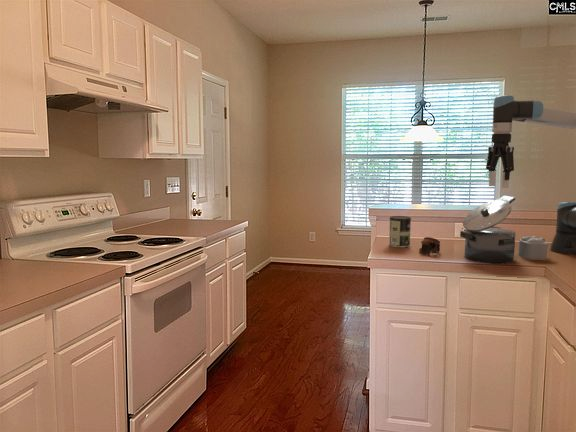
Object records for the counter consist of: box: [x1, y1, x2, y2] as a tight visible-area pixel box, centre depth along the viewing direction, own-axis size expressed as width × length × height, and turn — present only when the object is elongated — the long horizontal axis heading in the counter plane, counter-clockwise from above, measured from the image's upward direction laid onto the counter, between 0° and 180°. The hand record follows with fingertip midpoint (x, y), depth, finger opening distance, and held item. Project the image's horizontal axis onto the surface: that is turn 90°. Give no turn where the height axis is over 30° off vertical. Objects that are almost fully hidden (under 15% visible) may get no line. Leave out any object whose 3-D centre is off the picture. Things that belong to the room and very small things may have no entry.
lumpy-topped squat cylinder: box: [518, 235, 549, 261], centre depth 214 cm, size 10×13×9 cm
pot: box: [459, 227, 516, 265], centre depth 210 cm, size 22×25×12 cm
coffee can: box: [388, 215, 412, 248], centre depth 237 cm, size 10×10×14 cm
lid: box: [462, 195, 516, 232], centre depth 208 cm, size 24×21×3 cm
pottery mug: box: [418, 236, 441, 256], centre depth 221 cm, size 12×10×8 cm
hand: (498, 186), depth 207 cm, fingers open, 8 cm apart
